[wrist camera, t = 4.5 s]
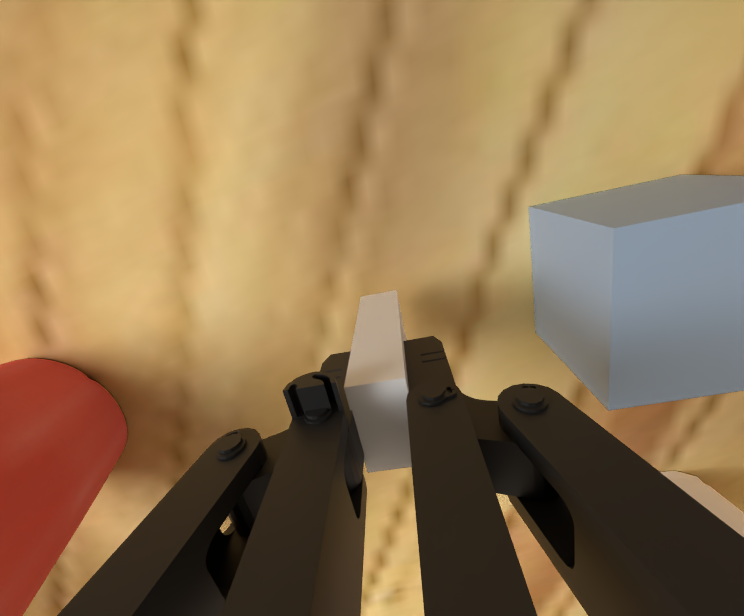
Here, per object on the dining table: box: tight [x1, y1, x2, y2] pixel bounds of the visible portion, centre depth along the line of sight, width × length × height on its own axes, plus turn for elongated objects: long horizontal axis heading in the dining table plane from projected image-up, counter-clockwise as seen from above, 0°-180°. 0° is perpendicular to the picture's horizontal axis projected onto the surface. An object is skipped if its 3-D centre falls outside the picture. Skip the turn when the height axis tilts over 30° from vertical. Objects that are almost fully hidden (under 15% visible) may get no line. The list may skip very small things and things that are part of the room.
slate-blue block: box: [529, 175, 744, 411], centre depth 13 cm, size 6×6×6 cm
